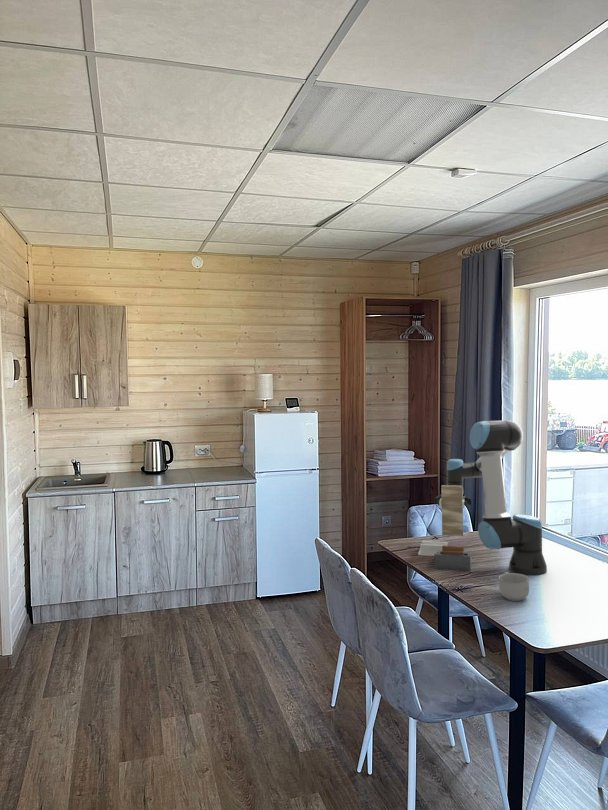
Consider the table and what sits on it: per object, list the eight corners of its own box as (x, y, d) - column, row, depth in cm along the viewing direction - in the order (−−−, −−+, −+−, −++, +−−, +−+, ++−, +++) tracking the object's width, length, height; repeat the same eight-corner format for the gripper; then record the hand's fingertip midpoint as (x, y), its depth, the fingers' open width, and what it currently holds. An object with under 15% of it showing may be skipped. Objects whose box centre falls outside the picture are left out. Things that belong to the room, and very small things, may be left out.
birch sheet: (442, 533, 271) (441, 485, 270) (463, 534, 268) (462, 485, 268) (442, 535, 269) (441, 486, 268) (463, 536, 266) (462, 486, 265)
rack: (437, 561, 274) (436, 545, 274) (471, 563, 270) (471, 547, 270) (434, 571, 260) (434, 554, 260) (470, 574, 256) (470, 556, 255)
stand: (420, 552, 290) (420, 539, 289) (450, 553, 285) (450, 541, 285) (418, 558, 280) (417, 545, 280) (448, 560, 276) (448, 547, 276)
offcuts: (442, 563, 267) (442, 545, 267) (463, 564, 264) (463, 546, 264) (441, 567, 261) (441, 549, 261) (463, 568, 258) (463, 550, 258)
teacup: (532, 604, 221) (531, 582, 221) (501, 603, 223) (501, 581, 223) (524, 590, 235) (524, 570, 235) (495, 589, 237) (495, 569, 236)
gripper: (478, 503, 282) (477, 514, 261) (431, 502, 289) (426, 512, 267) (478, 487, 282) (477, 496, 260) (430, 486, 288) (426, 495, 267)
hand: (451, 504), depth 264 cm, fingers closed on birch sheet, 9 cm apart
